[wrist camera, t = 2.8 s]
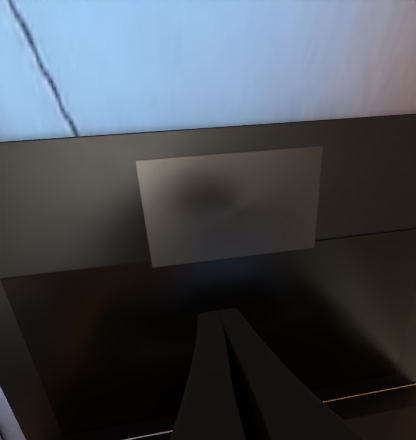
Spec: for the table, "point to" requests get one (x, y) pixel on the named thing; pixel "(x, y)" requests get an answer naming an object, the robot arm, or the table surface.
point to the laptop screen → (370, 415)
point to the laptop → (202, 264)
